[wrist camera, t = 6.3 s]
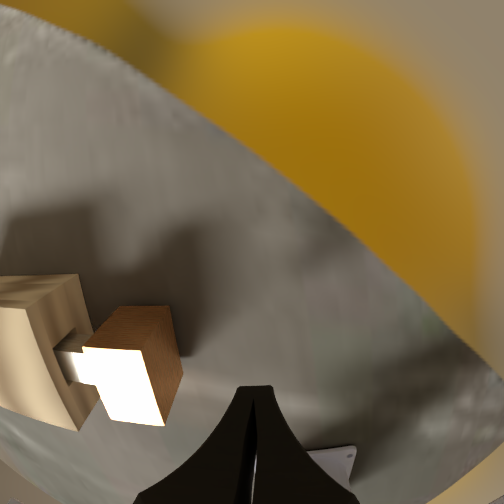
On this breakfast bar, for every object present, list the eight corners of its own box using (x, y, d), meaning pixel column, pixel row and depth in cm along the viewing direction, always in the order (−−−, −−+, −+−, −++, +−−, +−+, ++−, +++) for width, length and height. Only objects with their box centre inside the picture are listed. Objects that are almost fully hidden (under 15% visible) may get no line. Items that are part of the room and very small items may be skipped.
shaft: (169, 305, 16) (140, 350, 11) (183, 373, 17) (164, 426, 13) (-13, 301, 17) (-50, 324, 12) (5, 351, 18) (-26, 379, 13)
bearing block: (78, 273, 16) (25, 309, 11) (110, 381, 18) (78, 431, 13) (-6, 276, 17) (-53, 301, 12) (25, 366, 19) (-10, 401, 14)
